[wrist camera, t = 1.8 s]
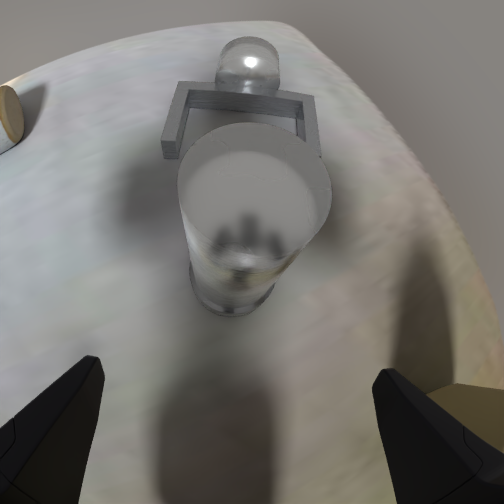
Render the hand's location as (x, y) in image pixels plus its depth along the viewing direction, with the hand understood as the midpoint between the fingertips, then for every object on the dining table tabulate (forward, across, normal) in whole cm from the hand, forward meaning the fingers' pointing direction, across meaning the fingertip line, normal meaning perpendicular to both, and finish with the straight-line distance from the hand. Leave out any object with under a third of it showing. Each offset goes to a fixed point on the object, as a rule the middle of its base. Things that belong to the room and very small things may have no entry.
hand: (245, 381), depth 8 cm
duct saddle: (+24, 0, -7) cm, 25 cm away
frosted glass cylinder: (+13, 0, +4) cm, 14 cm away
